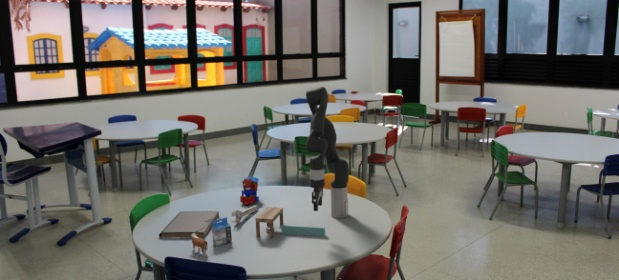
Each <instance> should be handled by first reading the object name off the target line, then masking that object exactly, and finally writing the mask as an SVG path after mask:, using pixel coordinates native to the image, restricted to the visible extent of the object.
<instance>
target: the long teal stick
mask: <svg viewBox="0 0 619 280" xmlns="http://www.w3.org/2000/svg"><path fill="white" fill-rule="evenodd" d="M280 228H281V234H285V235H286V234H290V235H299V234H301V236H313V237H314V236H317V237H326V226H325V227H324V226H310V225H309V226H308V225H293V224H283V225H281V227H280Z"/></svg>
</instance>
